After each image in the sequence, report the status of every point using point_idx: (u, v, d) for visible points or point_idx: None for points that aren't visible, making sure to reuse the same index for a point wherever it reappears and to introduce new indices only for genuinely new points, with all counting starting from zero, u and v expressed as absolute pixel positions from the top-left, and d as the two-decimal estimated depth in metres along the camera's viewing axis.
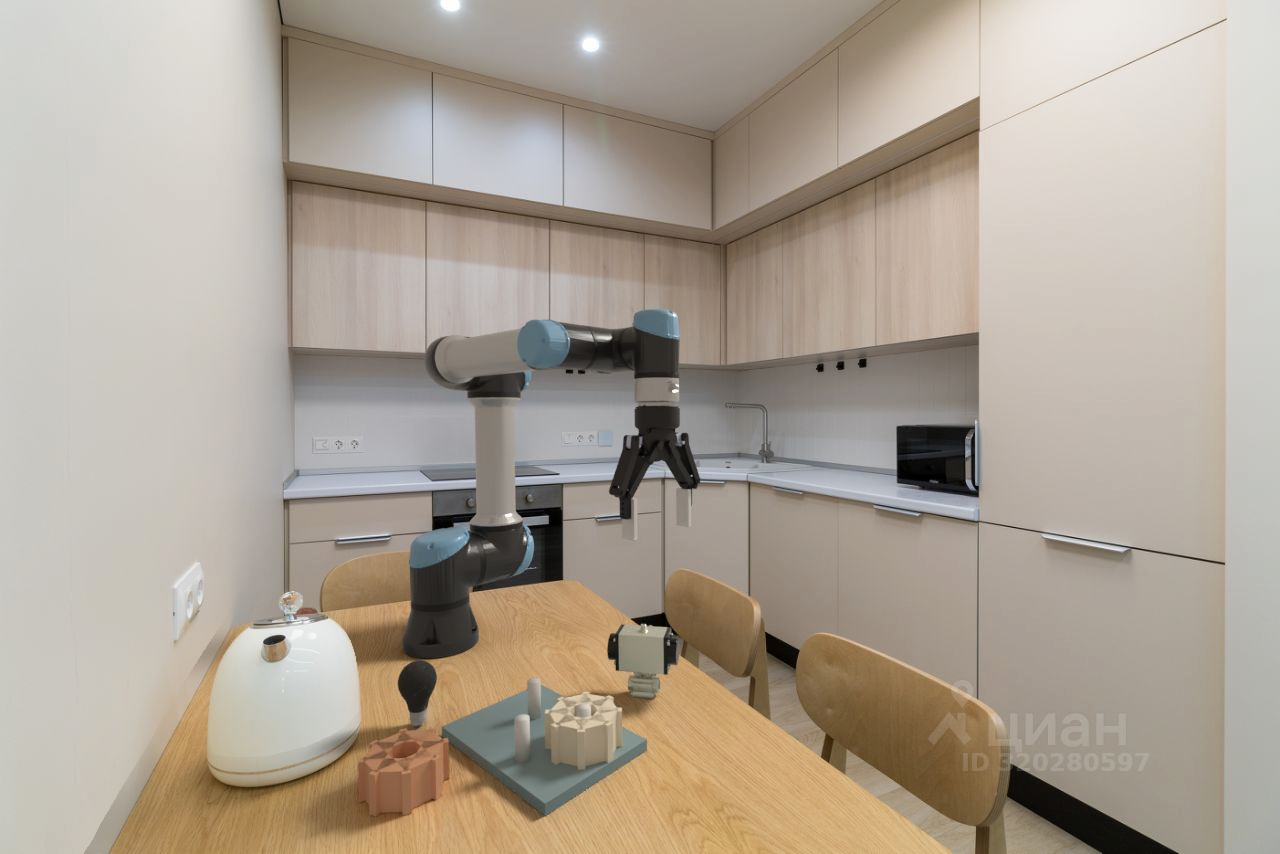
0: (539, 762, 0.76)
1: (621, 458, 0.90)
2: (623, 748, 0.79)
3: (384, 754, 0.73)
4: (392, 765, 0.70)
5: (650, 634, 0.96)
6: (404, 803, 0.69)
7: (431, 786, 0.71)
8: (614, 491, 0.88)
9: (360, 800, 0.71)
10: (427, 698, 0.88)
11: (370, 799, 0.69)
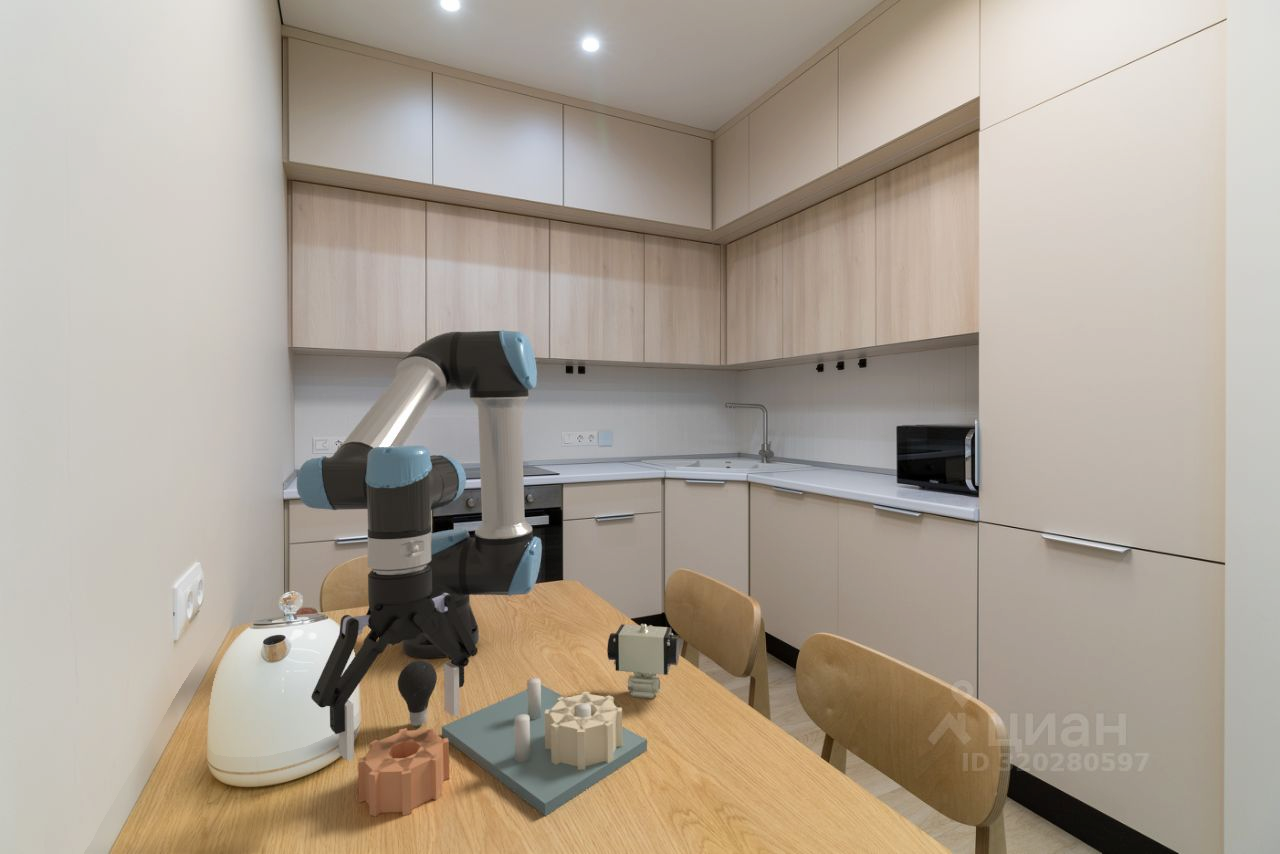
0: (539, 762, 0.76)
1: (334, 649, 0.68)
2: (623, 748, 0.79)
3: (384, 754, 0.73)
4: (392, 765, 0.70)
5: (650, 634, 0.96)
6: (404, 803, 0.69)
7: (431, 786, 0.71)
8: (315, 699, 0.66)
9: (360, 800, 0.71)
10: (427, 698, 0.88)
11: (370, 799, 0.69)
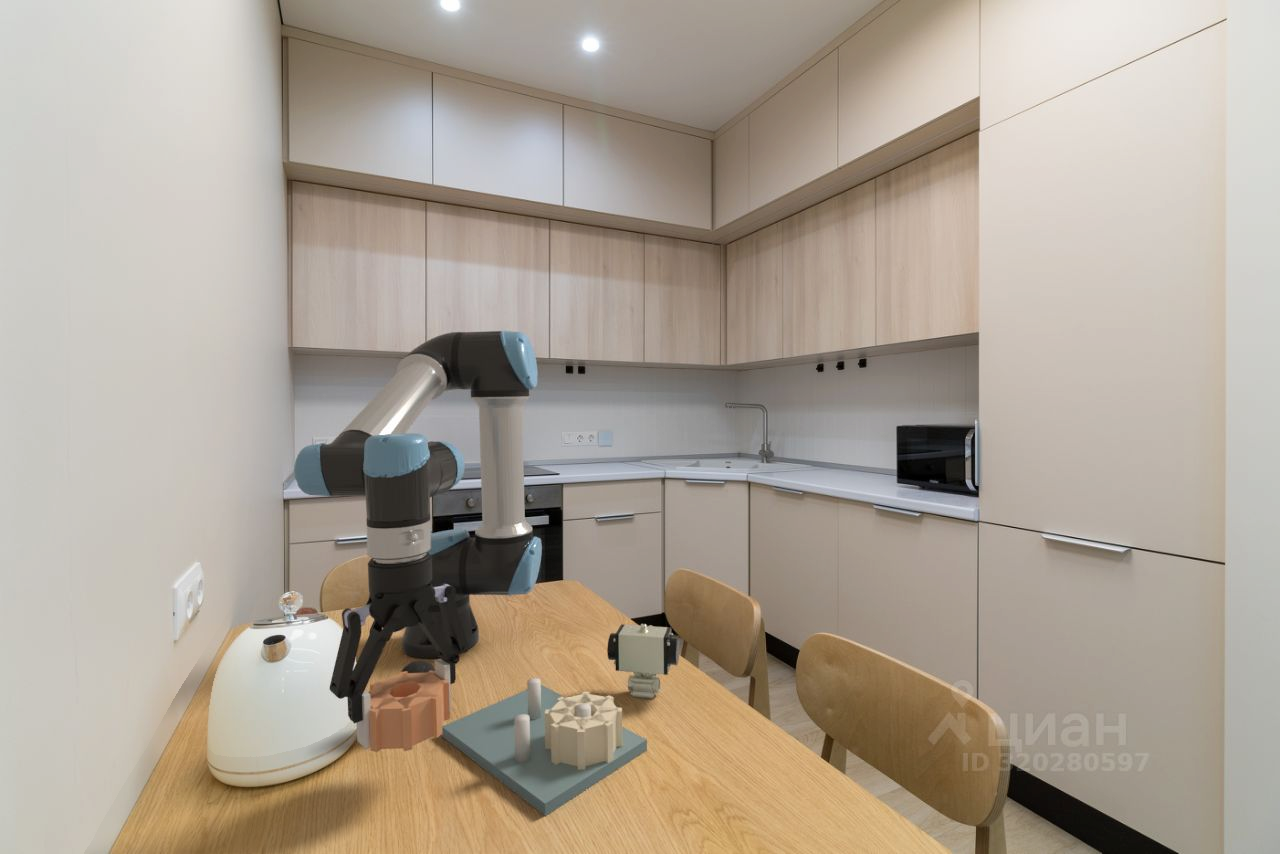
0: (539, 762, 0.76)
1: (341, 642, 0.69)
2: (623, 748, 0.79)
3: (384, 693, 0.73)
4: (393, 703, 0.71)
5: (650, 634, 0.96)
6: (405, 739, 0.69)
7: (432, 724, 0.72)
8: (333, 691, 0.67)
9: None
10: None
11: (371, 735, 0.69)
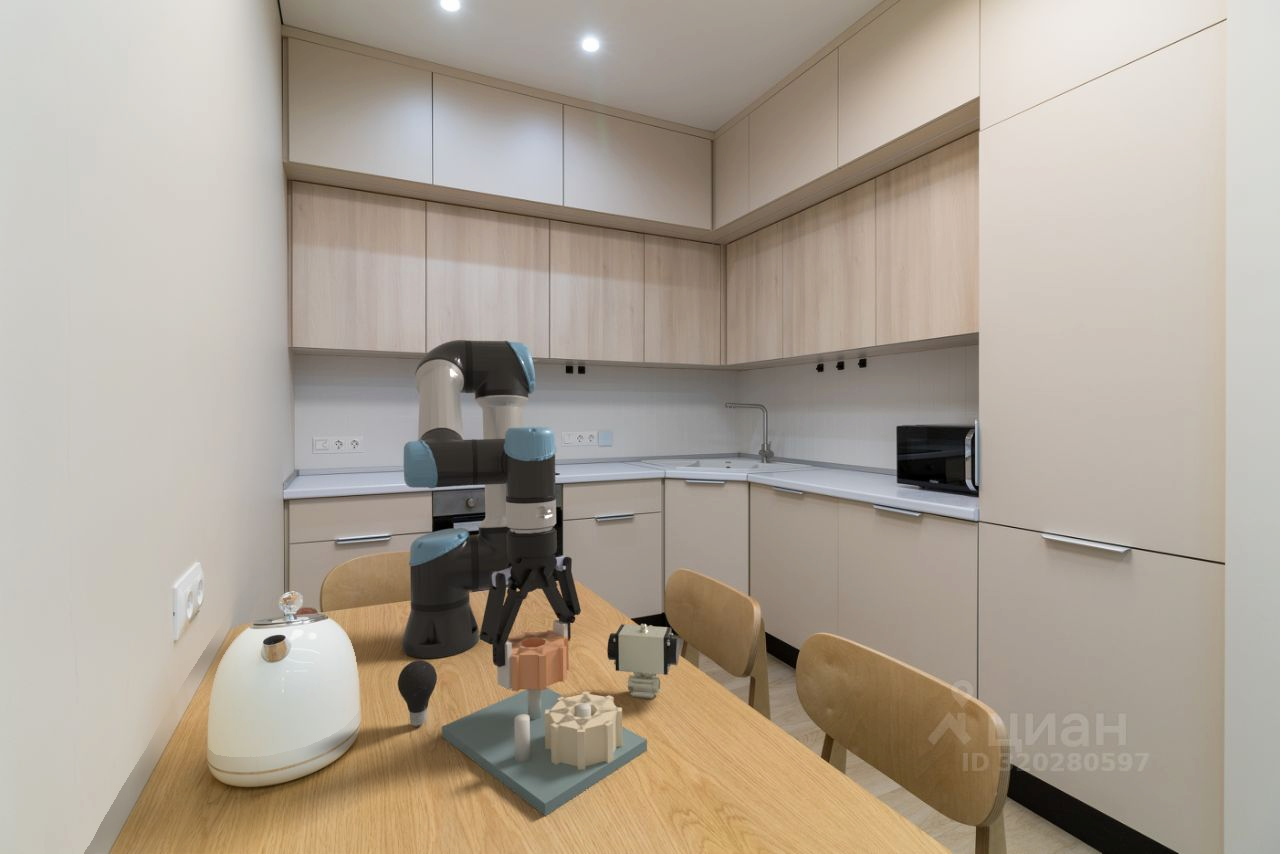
0: (539, 762, 0.76)
1: (489, 599, 0.83)
2: (623, 748, 0.79)
3: (518, 645, 0.86)
4: (528, 651, 0.84)
5: (650, 634, 0.96)
6: (541, 680, 0.82)
7: (559, 670, 0.85)
8: (484, 638, 0.81)
9: None
10: (427, 698, 0.88)
11: (512, 677, 0.82)
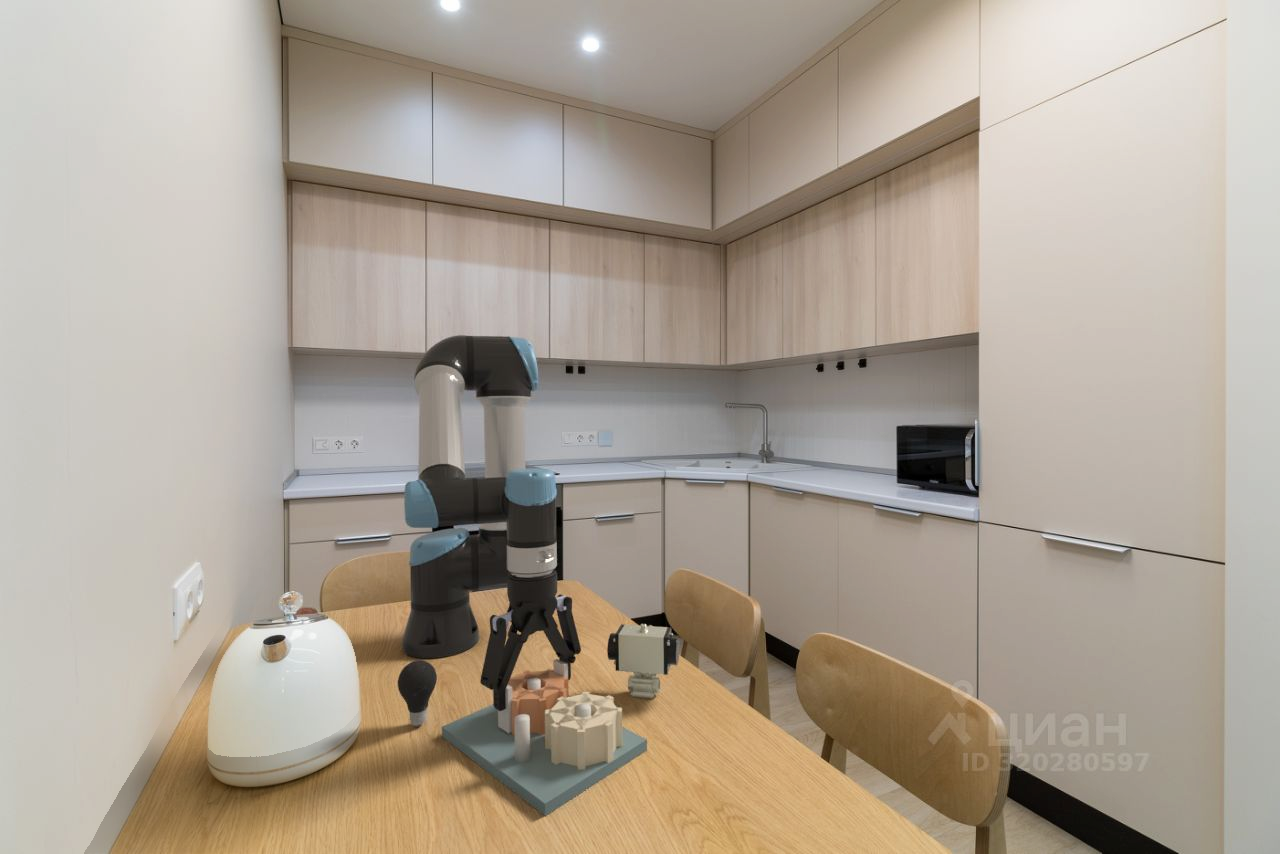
0: (539, 762, 0.76)
1: (489, 643, 0.83)
2: (623, 748, 0.79)
3: (518, 687, 0.87)
4: (528, 694, 0.84)
5: (650, 634, 0.96)
6: (541, 725, 0.83)
7: None
8: (484, 683, 0.81)
9: None
10: (427, 698, 0.88)
11: (513, 721, 0.83)
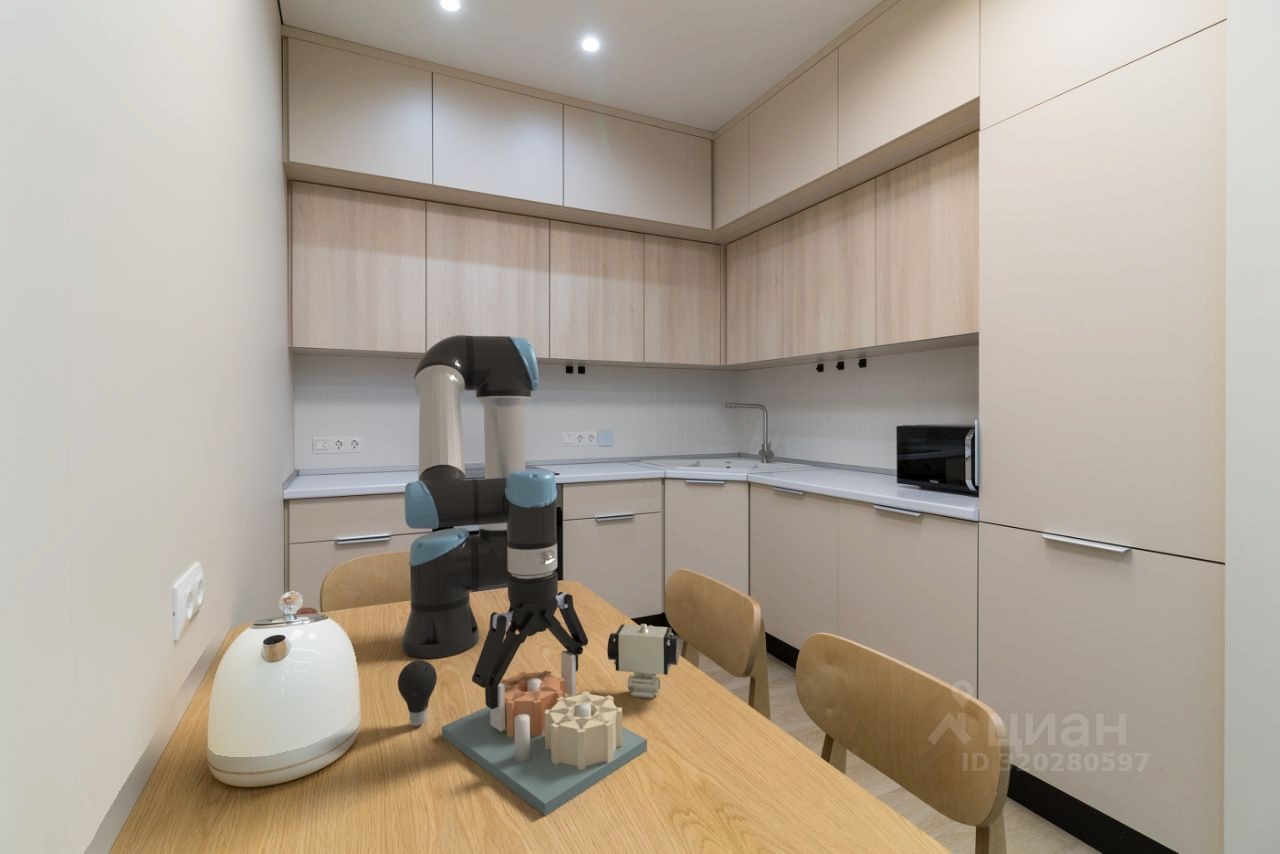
0: (539, 762, 0.76)
1: (487, 640, 0.83)
2: (623, 748, 0.79)
3: (514, 689, 0.86)
4: (523, 696, 0.84)
5: (650, 634, 0.96)
6: (536, 727, 0.82)
7: None
8: (476, 681, 0.81)
9: None
10: (427, 698, 0.88)
11: (508, 723, 0.82)
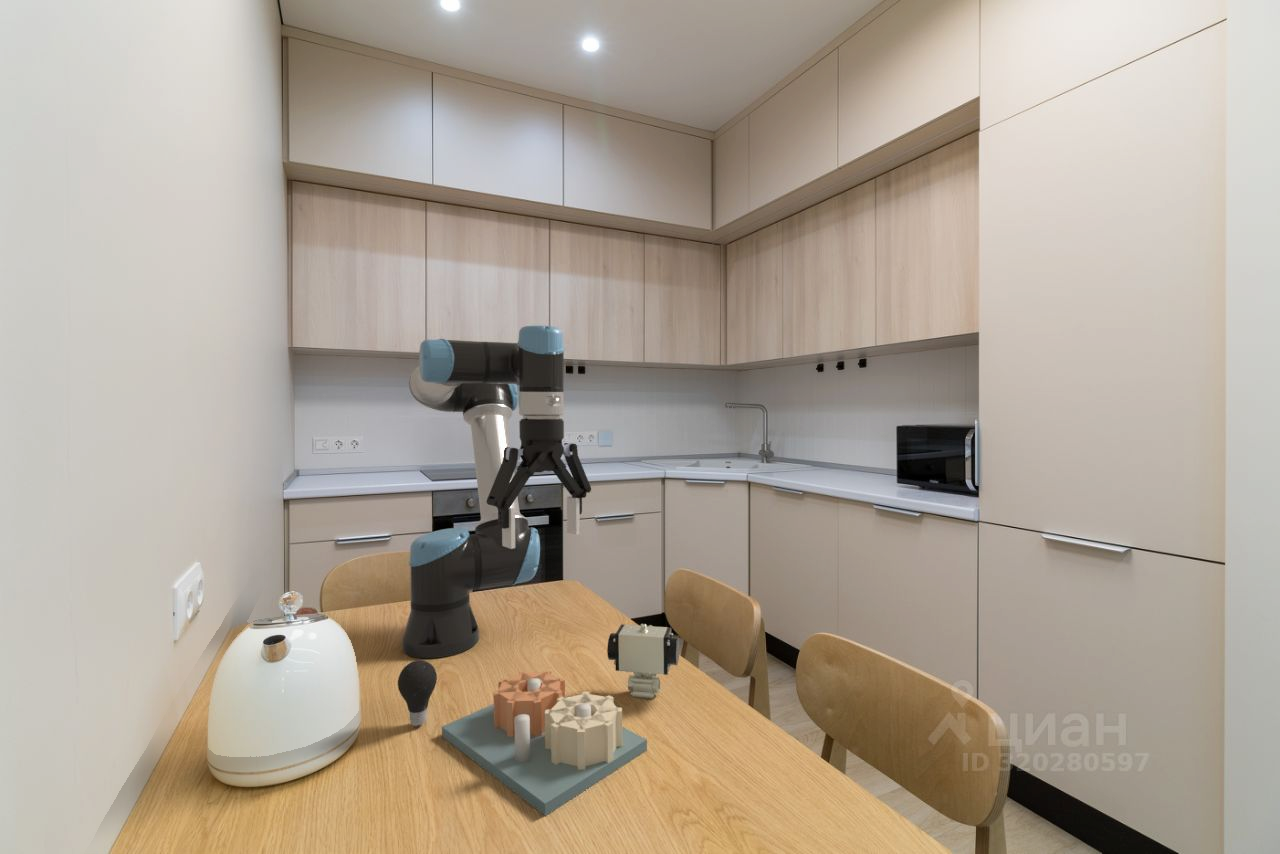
0: (539, 762, 0.76)
1: (500, 469, 0.94)
2: (623, 748, 0.79)
3: (514, 689, 0.86)
4: (524, 696, 0.84)
5: (650, 634, 0.96)
6: (536, 726, 0.82)
7: None
8: (490, 501, 0.92)
9: (496, 726, 0.85)
10: (427, 698, 0.88)
11: (508, 723, 0.82)
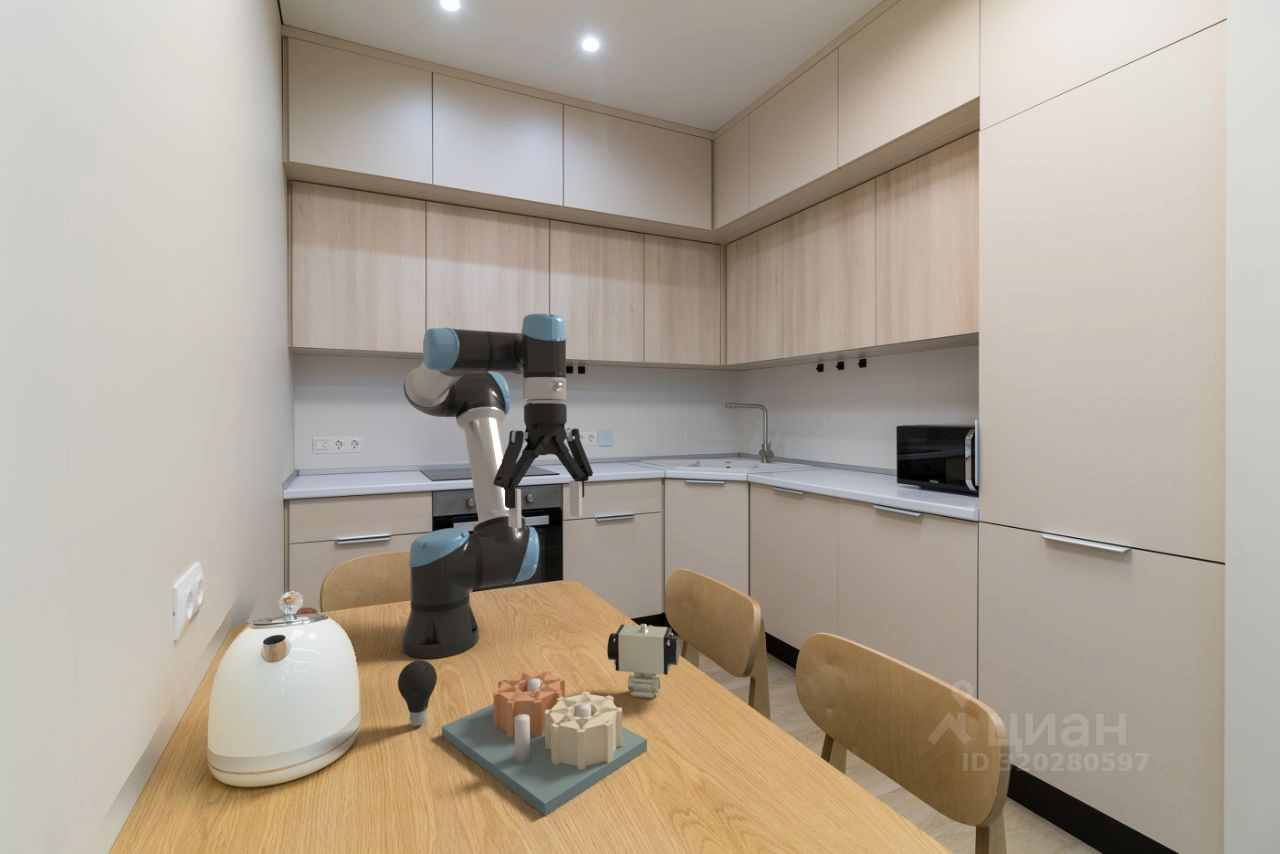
0: (539, 762, 0.76)
1: (506, 452, 0.97)
2: (623, 748, 0.79)
3: (514, 689, 0.86)
4: (524, 696, 0.84)
5: (650, 634, 0.96)
6: (536, 726, 0.82)
7: None
8: (497, 482, 0.95)
9: (496, 726, 0.85)
10: (427, 698, 0.88)
11: (508, 723, 0.82)
